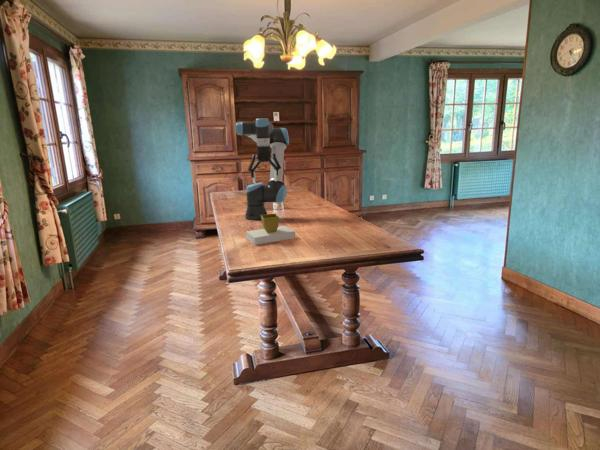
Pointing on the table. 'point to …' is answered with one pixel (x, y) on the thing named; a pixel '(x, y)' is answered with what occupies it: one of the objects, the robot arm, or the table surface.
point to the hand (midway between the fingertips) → (265, 182)
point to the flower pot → (270, 222)
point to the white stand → (270, 235)
